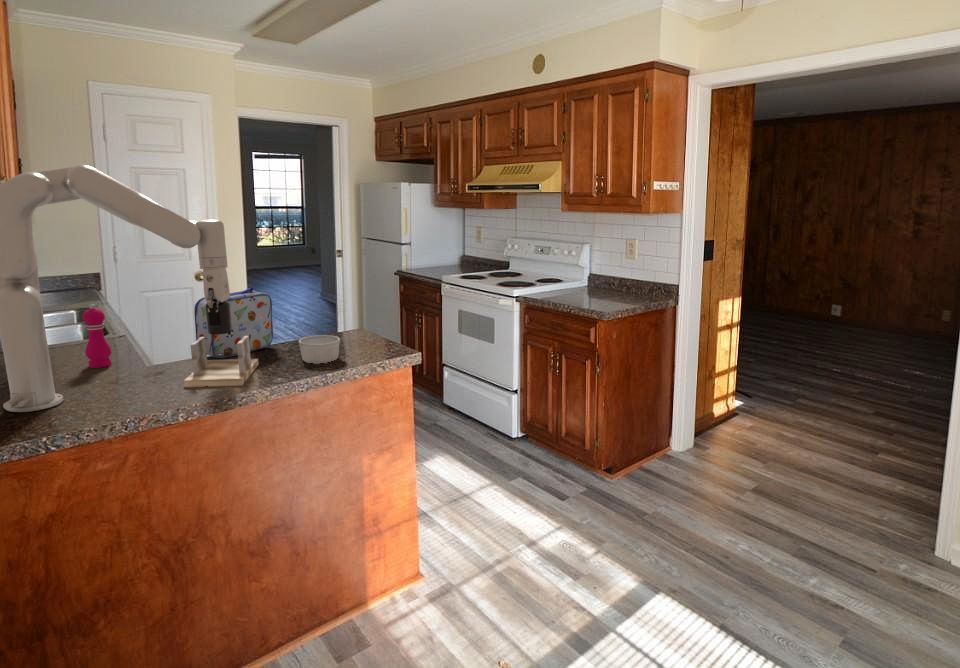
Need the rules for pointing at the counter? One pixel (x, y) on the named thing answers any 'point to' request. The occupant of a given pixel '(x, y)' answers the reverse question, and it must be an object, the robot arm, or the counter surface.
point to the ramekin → (319, 348)
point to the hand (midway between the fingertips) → (219, 322)
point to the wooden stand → (220, 366)
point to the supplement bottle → (225, 319)
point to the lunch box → (238, 323)
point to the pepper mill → (96, 339)
